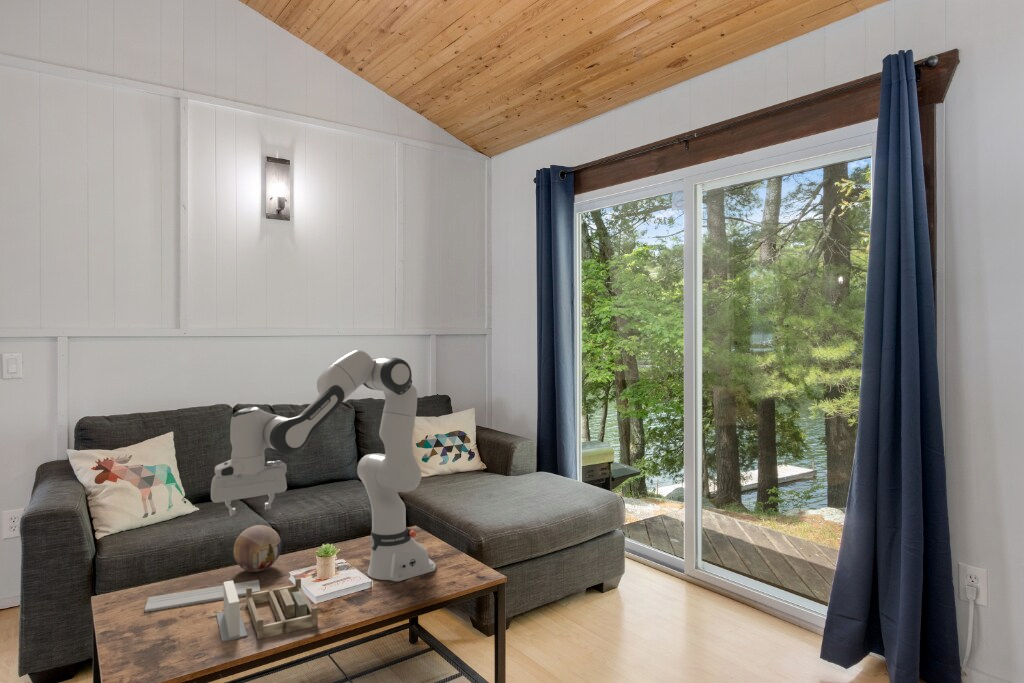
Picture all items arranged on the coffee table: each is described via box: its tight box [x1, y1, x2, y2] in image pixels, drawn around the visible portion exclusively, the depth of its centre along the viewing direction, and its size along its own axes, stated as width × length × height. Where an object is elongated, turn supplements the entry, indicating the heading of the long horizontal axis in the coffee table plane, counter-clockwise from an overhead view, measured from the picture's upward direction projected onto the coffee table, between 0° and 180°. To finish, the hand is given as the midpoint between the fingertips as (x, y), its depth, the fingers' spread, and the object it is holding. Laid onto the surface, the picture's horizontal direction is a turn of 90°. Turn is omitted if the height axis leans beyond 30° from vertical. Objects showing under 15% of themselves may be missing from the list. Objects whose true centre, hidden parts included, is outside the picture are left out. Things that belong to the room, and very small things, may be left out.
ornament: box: [232, 524, 282, 573], centre depth 213 cm, size 15×15×15 cm
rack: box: [245, 576, 319, 640], centre depth 180 cm, size 15×24×5 cm, turn 29°
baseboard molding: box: [144, 576, 261, 613], centre depth 194 cm, size 31×3×12 cm
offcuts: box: [278, 589, 307, 619], centre depth 183 cm, size 5×16×4 cm, turn 29°
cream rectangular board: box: [222, 579, 240, 637], centre depth 174 cm, size 2×16×9 cm, turn 29°
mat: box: [216, 609, 248, 643], centre depth 174 cm, size 6×18×1 cm, turn 29°
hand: (250, 512), depth 182 cm, fingers open, 8 cm apart
